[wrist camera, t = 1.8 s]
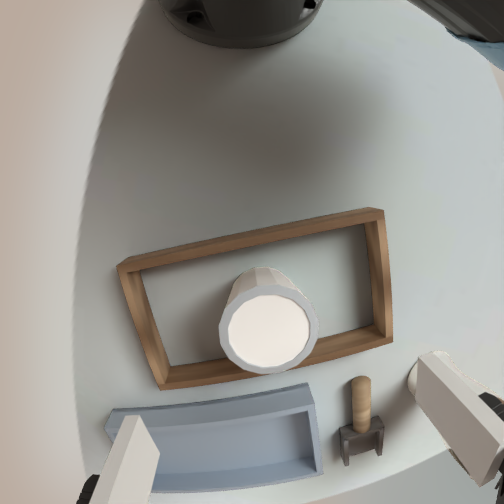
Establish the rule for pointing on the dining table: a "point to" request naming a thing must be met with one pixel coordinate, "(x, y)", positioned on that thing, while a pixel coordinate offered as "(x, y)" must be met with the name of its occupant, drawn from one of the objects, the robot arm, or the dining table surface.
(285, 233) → the walnut frame
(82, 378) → the dining table surface
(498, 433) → the robot arm
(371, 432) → the hand scoop
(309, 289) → the dining table surface
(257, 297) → the white faceted cup
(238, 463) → the bin
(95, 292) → the dining table surface
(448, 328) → the dining table surface
